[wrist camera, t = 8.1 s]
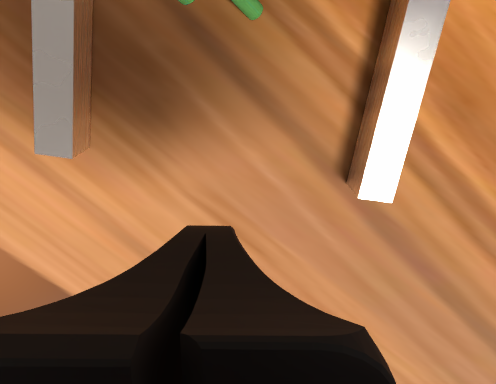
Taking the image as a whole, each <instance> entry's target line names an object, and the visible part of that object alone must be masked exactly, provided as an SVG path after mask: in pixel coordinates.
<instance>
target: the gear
mask: <svg viewBox="0 0 496 384" xmlns="http://www.w3.org/2000/svg"><path fill="white" fill-rule="evenodd" d="M178 1H179V2H180V3H182V4H184V5H187V4H190V3H192V2H193V1H194V0H178ZM231 1H232V2H233V3H234V4H235V5H236V6H237V7H238V8H239V9H240V10H241V11H242V12H243V13H244V14H245V15H246V16H247V17H248V18H249V19H250V20H255V19H257V18H258V17H259V16H260V15H261V14H262V11H263V6H262V4H261V3H260V2H259V1H258V0H231Z"/></svg>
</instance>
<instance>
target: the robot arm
mask: <svg viewBox="0 0 496 384" xmlns="http://www.w3.org/2000/svg"><path fill="white" fill-rule="evenodd" d="M0 384H396V382H395V380H394V378H393V375H392V373H391V371H390V369H389V367H388V365H387V363H386V361H385V359H384V357H383V356H382V354H381V352H380V351H379V349H378V347H377V346H376V344H375V343H374V341H373V340H372V338H371V337H370V335H369V334H368V332H367V330H366V329H365V327H363V326H360V325H358V324H355V323H352V322H349V321H346V320H343V319H341V318H338V317H335V316H332V315H330V314H327V313H325V312H323V311H321V310H319V309H317V308H314V307H312V306H310V305H308V304H306V303H305V302H303V301H301V300H299V299H298V298H296V297H294V296H293V295H291V294H290V293H288V292H287V291H285V290H284V289H282V288H281V287H279V286H278V285H277V284H276V283H274V282H273V281H272V280H271V279H270V278H268V277H267V276H266V275H265V274H264V273H263V272H262V271H261V270H260V269H259V267H258V266H257V265H256V264H255V263H254V262H253V260H252V259H251V258H250V257H249V255H248V254H247V252H246V251H245V250H244V248H243V247H242V245H241V243H240V242H239V240H238V238H237V236H236V234H235V230H234V229H233V228H232V227H231V226H186V227H185V228H184V229H182V230H181V231H180V232H179V233H178V234H176V235H175V236H174V237H173V238H172V239H171V240H169V241H168V242H167V243H166V244H164V245H163V246H162V247H161V248H159V249H158V250H157V251H155V252H154V253H152V254H151V255H150V256H148V257H147V258H145V259H144V260H142V261H141V262H140V263H138V264H137V265H135V266H134V267H132V268H130V269H129V270H127V271H125V272H123V273H122V274H120V275H118V276H116V277H114V278H112V279H110V280H108V281H106V282H104V283H102V284H100V285H97V286H95V287H93V288H90V289H88V290H86V291H83V292H81V293H78V294H76V295H74V296H71V297H68V298H65V299H62V300H60V301H57V302H54V303H51V304H48V305H44V306H41V307H38V308H34V309H31V310H27V311H24V312H19V313H15V314H11V315H6V316H2V317H0Z"/></svg>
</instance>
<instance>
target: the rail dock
mask: <svg viewBox="0 0 496 384" xmlns="http://www.w3.org/2000/svg"><path fill="white" fill-rule="evenodd" d="M449 3H450V0H391V3H390V7H389V11H388V16H387V20H386V24H385V28H384V32H383V36H382V40H381V44H380V48H379V52H378V56H377V61H376V65H375V69H374V73H373V77H372V81H371V85H370V89H369V93H368V97H367V101H366V106H365V110H364V114H363V118H362V122H361V126H360V130H359V134H358V138H357V142H356V147H355V151H354V155H353V159H352V163H351V167H350V171H349V175H348V179H347V183H346V184H347V185H348V186H349V187H350V189H351V190H352V191H353V192H354V194H355V195H356V196H357V197H358V198H360V199H367V200H374V201H382V202H389V203H392V201H393V197H394V194H395V190H396V187H397V184H398V180H399V177H400V173H401V170H402V166H403V163H404V159H405V156H406V152H407V149H408V145H409V142H410V138H411V135H412V131H413V128H414V125H415V121H416V118H417V114H418V111H419V107H420V104H421V100H422V97H423V93H424V90H425V86H426V83H427V79H428V76H429V72H430V69H431V66H432V62H433V59H434V55H435V52H436V48H437V45H438V41H439V38H440V34H441V31H442V27H443V24H444V20H445V17H446V13H447V10H448V7H449ZM31 12H32V56H33V101H34V145H35V154H41V155H48V156H55V157H62V158H70V159H73V158H75V157H76V156H78V155H79V154H81V153H82V152H84V151H85V150H87V149H88V148H90V105H91V62H92V19H93V0H31Z"/></svg>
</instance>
